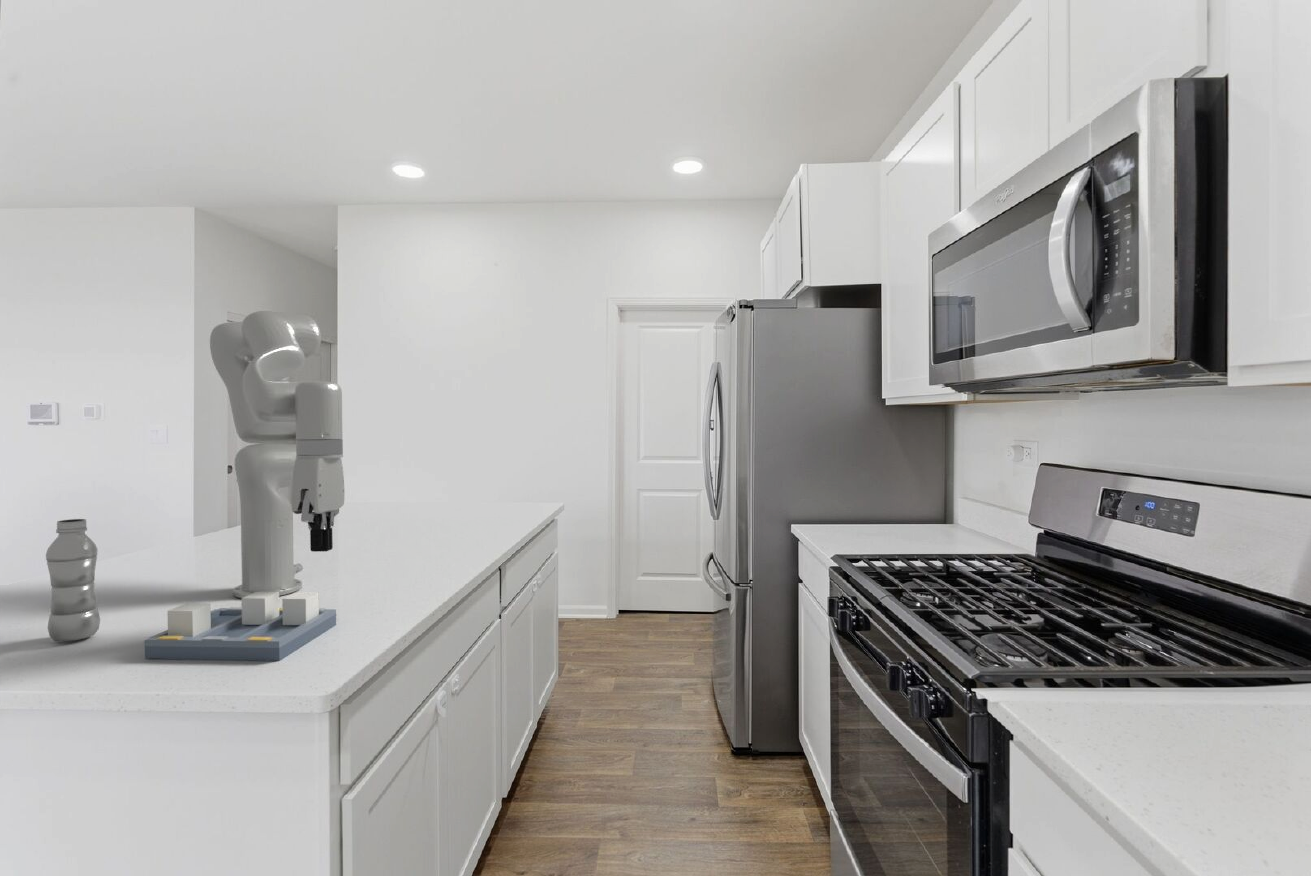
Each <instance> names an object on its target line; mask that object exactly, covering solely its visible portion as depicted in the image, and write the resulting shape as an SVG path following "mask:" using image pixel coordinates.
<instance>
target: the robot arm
mask: <svg viewBox="0 0 1311 876" xmlns="http://www.w3.org/2000/svg"><path fill="white" fill-rule="evenodd" d="M321 343H322V334H321V328H320V326H319V325H318V323H317V322H316V321H315V319H313V318H312V317H310V316H308V315H306V314H305V315H303V314H297V313H287V312H279V311H271V310H270V311H269V310H268V311H267V310H259V311H254V312H252V313H249V314H247V316H245V317H244V319H243V320H242V322H241V321H238V322H237V321H236V322H235V321H231V322H230V321H229V322H222V323H220V324H217V325H216V326H215V327H213V329H212V330H211V333H210V335H209V347H210V349H209V350H210V355H211V359H212V363H213V364H214V368H215V369H216V372H217V374H218V375H219V377H220V379H221V380H222V382H223V384H224V386H225V387H226V390H227V393H228V399H229V403H230V408H231V413H232V418H233V423H234V428H235V430H236V434H237V436H238V438H239V439H241V441H243V442H245V443H248V444H249V445H246V446H244V447H242V448H241V449H240V450H238V452H237V453H236V454H235V458H234V471H235V476H236V481H237V486H238V492H239V503H240V505H239V506H240V541H241V542H240V543H241V544H240V545H241V546H240V549H241V550H240V551H241V552H240V553H241V554H240V555H241V584H239V585H238V586H235V587H234V588H233V590H232V593H233V596H234V597H236V598H239V599H242V598H243V597H246V596H248V595H250V594H253V593H255V592H279V597H281V596H284V595H289V594H293V593H295V592H297V591H299V590H300V589H301V588H303V582H302V580H300V579H296V578H295V575H296V574H298V573H300V572H302V571H303V569H304V566H303V565H302V564H301V563H295V564H294V514H296V515H300V514H301V515H300V521H301V522H303V523H307V527H308V530H309V536H310V539H309V540H310V542H309V544H310V546H309V547H310V548H309V549H310V551H311V552H314V553H315V552H317V553H318V552H329V551H331V550H333V546H334V545H333V544H334V543H333V527H334V524H335V517H336V516H337V515H339V514H340V509H341V508H342V507H343V506H344V503H345V478H344V477H345V475H344V467H343V461H342V458H343V457H344V454H343V453H344V451H343V450H344V448H343V447H344V444H343V443H344V442H343V441H344V440H343V391H342V388H341V387H342V386H340V385H339V384H338V383H337V382H335V381H334V382H332V381H324V380H323V381H322V380H319V381H318V380H312V381H311V380H310V381H309V380H308V381H300V382H299V381H286V380H288V379H290V378H293V377H294V376H296V375H297V374H299V372H301V371H302V369H303V368H304V367H305V366H304V365H305V361H306V359H307V358H309V357H312V356H313V355H314V354H316V353H317V352H318V351H319V348H320V347H321ZM283 488H291V502H290V500H289V499H288V498H287V497H286V496H285V495H284V494H283V493H282V492H281V491H280V489H283Z"/></svg>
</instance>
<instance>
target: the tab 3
mask: <svg viewBox="0 0 1311 876" xmlns="http://www.w3.org/2000/svg"><path fill="white" fill-rule="evenodd" d="M281 601H282V606H281V608H283V625H302V624H304V623H306V622H307V621H309V620H311V619H313V618H314V617H316V616H318V615H319V608H320V604H319V603H320V602H319V592H314V591H313V592H311V591H309V592H306V591H305V592H304V591H303V592H301V591H299V592H297V591H295V592H292V593H290V595H289V594H288V596H286V597H282V600H281Z"/></svg>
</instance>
